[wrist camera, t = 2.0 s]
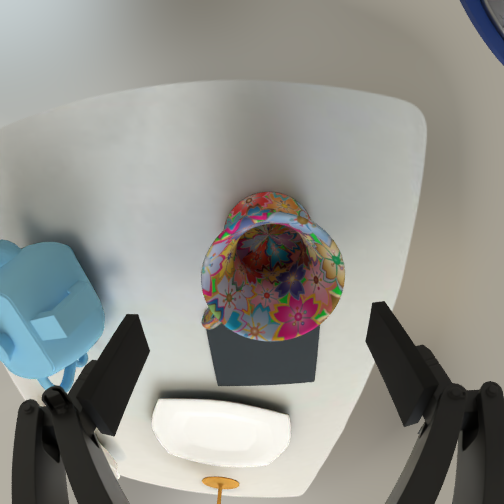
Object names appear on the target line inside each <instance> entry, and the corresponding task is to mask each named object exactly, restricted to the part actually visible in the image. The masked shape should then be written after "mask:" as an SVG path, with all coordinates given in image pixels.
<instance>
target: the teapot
mask: <svg viewBox="0 0 504 504" xmlns="http://www.w3.org/2000/svg"><path fill="white" fill-rule="evenodd" d="M104 321H105V319H104V311H103V308H102V305H101V302H100V300H99V298H98V296H97V294H96V292H95V291H94V289H93V287H92V285H91V283H90V282H89V280H88V278H87V276H86V274H85V273H84V271H83V269H82V267H81V266H80V264H79V262H78V260H77V259H76V257H75V254H74V252H73V250H72V249H71V247H69V246H68V245H65V244H61V243H57V242H41V243H36V244H32V245H29V246H26V247H24V248H22V249H20V248H19V247H18V246H17V245H15V244H14V243H12V242H10V241H7V240H0V361H1V362H3V363H4V364H5V366H6V367H7V368H8V369H9V370H10V371H11V372H12V373H13V374H15V375H17V376H20V377H23V378H29V379H37V380H38V381H39V383H40V384H41V386H42V387H43V388H44V389H45V390H47V389H48V388H50V387H52V386H55V385H53V384H52V383H51V382H50V380H49V379H48V378H47V377H49V376H51V375H53V374H55V373H57V372H59V371H60V370H62V369H64V368H65V371H64V376H63V380H62V382H61V384H60V386H61V387H62V388H63V389H64V390H65V392H66V393H67V392H68V391H69V390H70V388H71V386H72V384H73V380H74V375H75V369H76V367H83V366H85V365H86V363H87V361H88V355H87V351H88V350H89V349H90V348H91V347H92V346H93V345H94V344H95V343H96V342H97V340H98V339H99V338H100V336H101V335H102V333H103V330H104ZM77 359H79V361H78V360H77Z"/></svg>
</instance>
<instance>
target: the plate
mask: <svg viewBox="0 0 504 504" xmlns="http://www.w3.org/2000/svg"><path fill="white" fill-rule="evenodd" d="M151 422H152V430H153V432H154V434H155V436H156V438H157V439H158V441H159V442H160V444H161V445H162V446H163V447H164V449H165V450H166V451H167V452H168V453H169V454H171V455H174V456H177V457H180V458H184V459H187V460H191V461H194V462H199V463H203V464H208V465H214V466H223V467H256V466H266V465H268V464H269V463H271V462H272V461H273V460H275V459H276V458H277V457H278V456H279V455H280V454H281V453H282V452H283V451H284V450H285V449H286V448H287V446H288V445H289V442H290V439H291V424H290V418H289V415H288V414H285V413H281V412H277V411H273V410H269V409H265V408H261V407H257V406H252V405H247V404H243V403H238V402H231V401H225V400H215V399H197V398H159V399H158V401H157V404H156V406H155V409H154V412H153V415H152V421H151Z"/></svg>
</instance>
